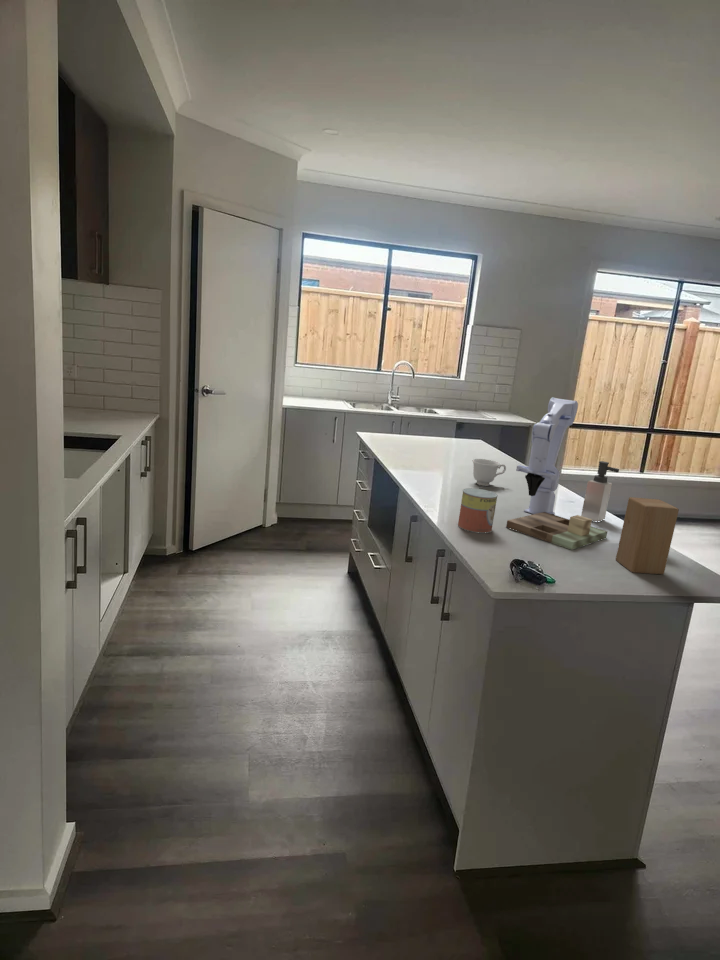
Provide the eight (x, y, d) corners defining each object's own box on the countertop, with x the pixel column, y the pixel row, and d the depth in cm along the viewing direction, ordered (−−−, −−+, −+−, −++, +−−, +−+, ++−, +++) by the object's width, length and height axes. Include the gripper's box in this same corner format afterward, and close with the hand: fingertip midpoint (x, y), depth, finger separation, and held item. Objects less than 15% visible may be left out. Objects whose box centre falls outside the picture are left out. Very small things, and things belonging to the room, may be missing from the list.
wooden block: (614, 560, 188) (628, 496, 183) (646, 562, 189) (660, 499, 184) (631, 572, 178) (646, 506, 173) (664, 575, 179) (679, 508, 174)
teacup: (505, 489, 266) (509, 467, 263) (471, 486, 265) (474, 463, 263) (500, 483, 277) (503, 461, 275) (467, 479, 277) (470, 457, 275)
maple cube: (575, 529, 207) (577, 515, 206) (589, 533, 203) (591, 519, 202) (567, 531, 204) (570, 516, 202) (581, 536, 200) (584, 521, 199)
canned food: (484, 535, 198) (490, 499, 195) (452, 526, 203) (457, 491, 201) (496, 528, 207) (502, 493, 205) (465, 520, 213) (470, 486, 210)
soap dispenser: (603, 524, 226) (615, 466, 221) (580, 518, 232) (591, 460, 227) (610, 522, 231) (622, 464, 226) (587, 515, 237) (598, 459, 232)
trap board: (542, 518, 226) (544, 511, 225) (606, 538, 209) (607, 531, 209) (506, 527, 209) (507, 520, 209) (571, 549, 193) (573, 542, 192)
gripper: (514, 453, 217) (508, 491, 221) (551, 462, 207) (544, 501, 211) (525, 452, 222) (518, 489, 225) (561, 461, 212) (554, 499, 215)
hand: (531, 495), depth 218 cm, fingers closed
